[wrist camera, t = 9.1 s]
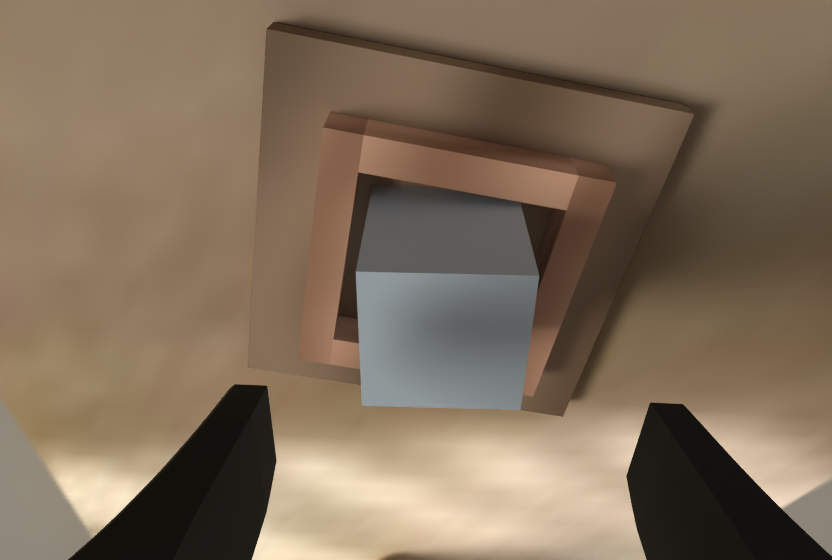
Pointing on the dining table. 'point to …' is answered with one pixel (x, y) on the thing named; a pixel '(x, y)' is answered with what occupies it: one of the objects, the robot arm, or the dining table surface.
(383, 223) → the block
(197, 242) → the dining table surface
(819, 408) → the dining table surface
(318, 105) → the base plate
